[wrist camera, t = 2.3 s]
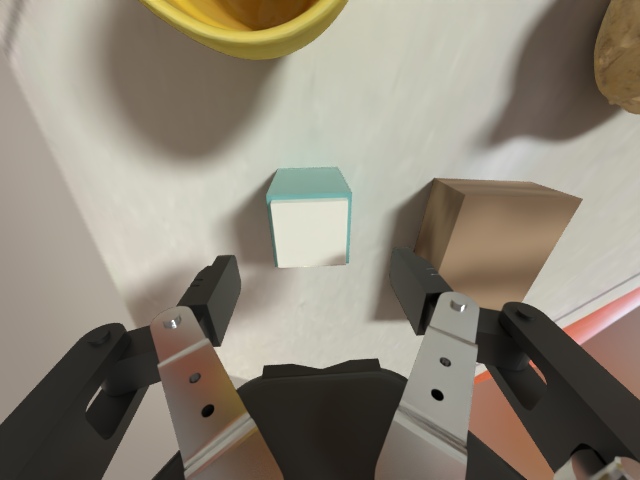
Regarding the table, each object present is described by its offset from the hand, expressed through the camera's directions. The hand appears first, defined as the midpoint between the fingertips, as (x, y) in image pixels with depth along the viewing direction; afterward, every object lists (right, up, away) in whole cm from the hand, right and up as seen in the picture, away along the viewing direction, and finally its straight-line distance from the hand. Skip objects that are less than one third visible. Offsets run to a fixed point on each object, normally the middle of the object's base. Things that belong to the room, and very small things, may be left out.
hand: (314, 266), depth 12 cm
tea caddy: (-1, +5, +9) cm, 10 cm away
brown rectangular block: (+14, +1, +13) cm, 19 cm away
